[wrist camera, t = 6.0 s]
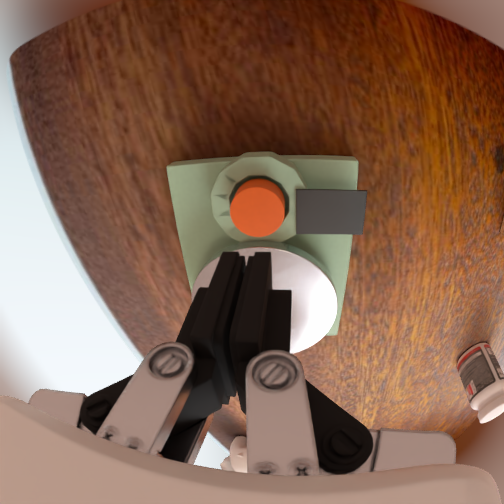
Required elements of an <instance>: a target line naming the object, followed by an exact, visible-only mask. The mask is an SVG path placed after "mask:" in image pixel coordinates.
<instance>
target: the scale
mask: <svg viewBox="0 0 504 504" xmlns="http://www.w3.org/2000/svg"><path fill="white" fill-rule="evenodd" d="M166 168H167V174H168V180H169V186H170V192H171V198H172V203H173V209H174V214H175V219H176V224H177V229H178V234H179V239H180V244H181V249H182V253H183V258H184V263H185V267H186V271H187V276H188V280H189V284H190V289H191V293H192V289H193V285H194V283H195V280H196V278H197V275H198V273H199V272H200V270H201V268H202V266H203V265H204V264H205V263H206V262H207V260H209V259H210V258H211V257H212V256H213V255H214V254H216V253H218V252H219V251H221V250H222V249H225V248H227V247H229V246H231V245H234V244H238V243H241V242H247V241H256V240H267V241H276V242H282V243H285V244H289V245H292V246H295V247H297V248H299V249H302V250H304V251H305V252H307V253H309V254H310V255H312V256H313V257H314V258H316V259H317V260H318V261H319V262H320V263H321V264H322V265H323V266H324V267H325V268H326V270H327V271H328V273H329V274H330V276H331V278H332V280H333V282H334V285H335V289H336V294H337V301H338V308H337V314H336V318H335V320H334V323H333V325H332V326H331V328H330V330H329V331H328V332H327V333H326V335H337V333H338V328H339V322H340V317H341V312H342V306H343V300H344V294H345V288H346V282H347V275H348V268H349V261H350V253H351V245H352V236H353V235H349V234H296V189H342V190H357V178H358V160H357V159H356V158H355V157H353V156H328V155H277V154H276V153H274V152H247V153H244V154H242V155H241V156H239V157H224V158H210V159H197V160H187V161H177V162H173V163H171V164H170V165H168V166H167V167H166ZM257 178H260V179H266V180H269V181H271V182H273V183H275V184H276V185H277V186H278V187H279V188H280V189H281V191H282V193H283V195H284V199H285V215H284V220H283V222H282V224H281V226H280V227H279V228H278V229H277V230H276V231H275V232H274V233H272V234H270V235H268V236H264V237H253V236H249V235H246V234H244V233H243V232H241V231H240V230H239V229H238V228H237V227H236V226H235V225H234V223H233V222H232V219H231V216H230V205H231V202H232V200H233V198H234V196H235V194H236V192H237V190H238V188H239V187H240V186H241V185H242V184H243V183H245V182H247V181H249V180H251V179H257Z"/></svg>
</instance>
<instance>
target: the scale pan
mask: <svg viewBox="0 0 504 504" xmlns="http://www.w3.org/2000/svg"><path fill="white" fill-rule="evenodd" d="M366 198H367V191H366V190H342V189H296V234H349V235H362V234H363V226H364V217H365V208H366ZM223 251H233V252H239V254H240V256H245V261H246V265H247V261H248V257H249V256H254V254H255V252H271V257H272V289H276V290H292V309H291V338H290V353H291V354H293V353H297V352H299V351H302V350H304V349H307V348H308V347H310V346H312V345H314V344H315V343H317V342H318V341H319V340H320V339H322V338H323V337H324V336H325V335H326V333H327V332H328V331H329V330H330V328H331V326H332V325H333V323H334V320H335V318H336V314H337V308H338V301H337V294H336V289H335V285H334V282H333V280H332V278H331V276H330V274H329V273H328V271H327V270H326V268H325V267H324V266H323V265H322V264H321V263H320V262H319V261H318V260H317V259H316V258H314V257H313V256H312V255H310V254H309V253H307V252H305V251H304V250H302V249H299V248H297V247H295V246H292V245H289V244H285V243H282V242H276V241H267V240H256V241H247V242H241V243H238V244H234V245H231V246H229V247H227V248H225V249H222V250H221V251H219V252H218V253H216V254H214V255H213V256H212V257H211V258H210V259H209V260H207V262H206V263H205V264H204V265H203V266H202V268H201V270H200V272H199V273H198V275H197V278H196V280H195V283H194V285H193V289H192V302H193V299H194V297H195V295H196V292H197V290H198V289H199V288H200V287H209V284H210V282H211V279H212V276H213V274H214V271H215V269H216V266H217V264H218V261H219V259H220V256H221V254H222V252H223Z"/></svg>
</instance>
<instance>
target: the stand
mask: <svg viewBox="0 0 504 504" xmlns="http://www.w3.org/2000/svg"><path fill="white" fill-rule="evenodd" d="M500 233H501V234H502V235H503V236H504V218H503V222H502V226H501V229H500Z"/></svg>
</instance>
